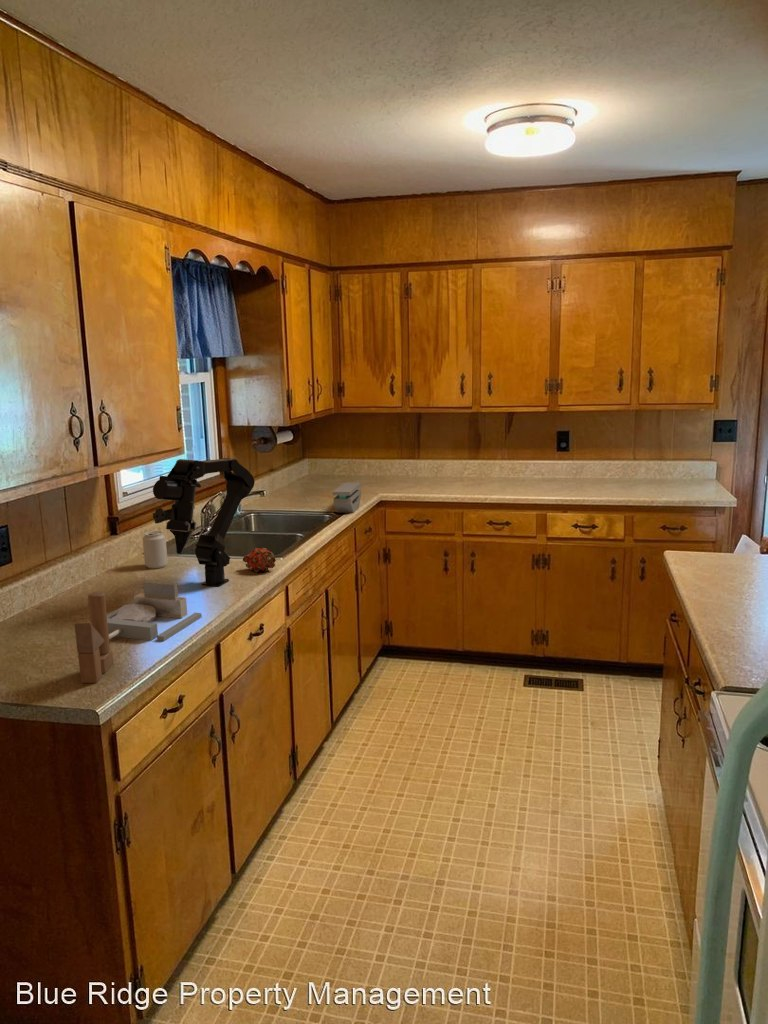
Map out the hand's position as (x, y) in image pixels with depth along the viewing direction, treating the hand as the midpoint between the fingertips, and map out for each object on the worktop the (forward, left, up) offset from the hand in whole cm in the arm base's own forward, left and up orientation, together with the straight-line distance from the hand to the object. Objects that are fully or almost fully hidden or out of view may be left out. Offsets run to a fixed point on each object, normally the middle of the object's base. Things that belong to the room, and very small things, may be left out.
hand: (179, 553), depth 221 cm
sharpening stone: (-130, +5, -14) cm, 131 cm away
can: (-26, -27, -14) cm, 40 cm away
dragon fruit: (-30, +10, -14) cm, 35 cm away
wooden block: (+54, +12, -14) cm, 56 cm away
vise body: (+29, +3, -13) cm, 32 cm away
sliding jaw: (+15, +3, -13) cm, 20 cm away
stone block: (+23, 0, -14) cm, 27 cm away
